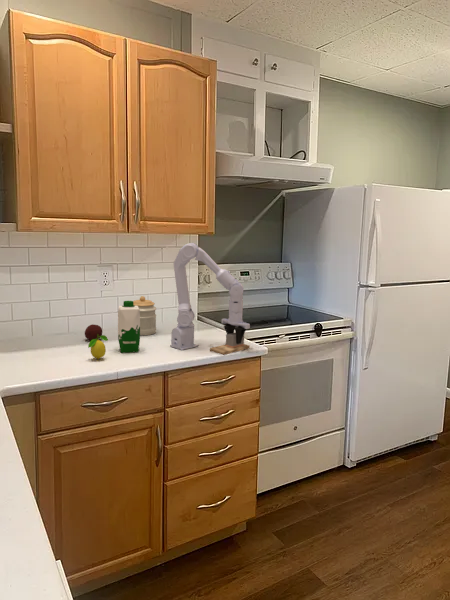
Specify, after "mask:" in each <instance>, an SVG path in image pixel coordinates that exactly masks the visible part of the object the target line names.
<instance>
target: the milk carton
mask: <svg viewBox="0 0 450 600" xmlns="http://www.w3.org/2000/svg"><path fill="white" fill-rule="evenodd" d="M133 301H134V300H123V305H118V311H117V340H118V345H119V350H120V353H121V354H124V353H126V354H127V353H139V350H140V343H141V335H140V310H139V307H138V306H134V303H133Z"/></svg>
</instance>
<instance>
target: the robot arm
mask: <svg viewBox="0 0 450 600" xmlns="http://www.w3.org/2000/svg"><path fill="white" fill-rule="evenodd" d="M192 259H194V261H199V262H202V263H203V264H204V265H205V266H206V267H207V268H209V269H210V271H212V272H213V273H214V274H215V280H217V282H218V283H220V284H221V285H222V286H223V288H224V289H225V290H228V293H229V303H228V318H221V324H223V329H224V330H225V333H226V334H231V333H236V343H237V344H240V343H241V341H242V337H243V335H244V336H245V333H246V331H247V330H248V329H250V327H251V325H250V323H247V322H246V321H244V320H243V309H244V307H243V306H244V305H243V304H244V300H243V299H244V296H243V294H244V286H243V284H242V282H240V281H239V279H237V278H235V276H233V275H232V274H231V271H230V270H229V269H228V270H227V269H226V268H221V267H220V266H219V265H218V263H216V262H215V260H214V259H213V258H211V256H210V255H209V254H208V253H207V251H205V250H204V249H203V248H201V247H199V246H198V245H197V244H196V243H194V242H189V243H186V244H184V245H183V246H182V247H181V248H180V249H179V251H178V253H177V255H176V256H175V259H174V261H173V270H174V271H173V272H174V280H175V284H176V285H175V287H176V294H177V301H178V302H177V303H178V306H177V307H178V308H177V309H178V311H177V313H178V315H177V318H176V322H177V325H176V327H174V328H172V330H171V333H170V334H171V335H170V337H171V339H170V341H171V344H170V347H172V348H174V349H177V350H181V351H183V350H187V349H188V350H189V349H191V348H196V347H199V345H198V344H195V324H194V323H193V321H194V319H195V317H196V316H195V312H194V310H193V309H192V305H191V302H190V291H189V284H188V274H187V268H186V266H187V265H188V264H189V262H190V261H192ZM224 324H225V325H224Z"/></svg>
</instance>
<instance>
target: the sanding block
mask: <svg viewBox="0 0 450 600" xmlns="http://www.w3.org/2000/svg"><path fill="white" fill-rule="evenodd" d="M225 344H226V346H228V347H231V348H234V347H238V346H243V345H244V344H245V334H244V335H243V337H242V341H241V343H240V344H237V343H236V332H234V333H231V334H227V333H226V334H225Z"/></svg>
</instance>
